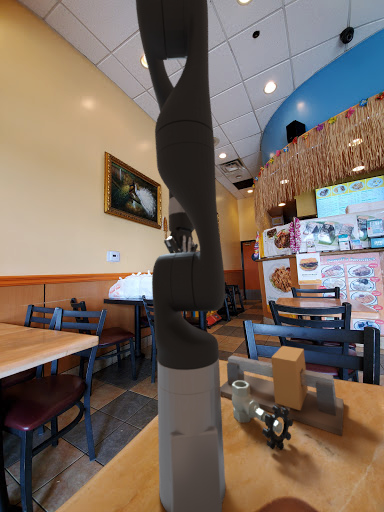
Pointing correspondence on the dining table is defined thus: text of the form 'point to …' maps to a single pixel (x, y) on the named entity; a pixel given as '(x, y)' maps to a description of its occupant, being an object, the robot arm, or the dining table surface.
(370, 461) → the dining table surface
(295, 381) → the collar
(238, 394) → the valve
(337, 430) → the board
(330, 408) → the rectangular bar
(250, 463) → the dining table surface
